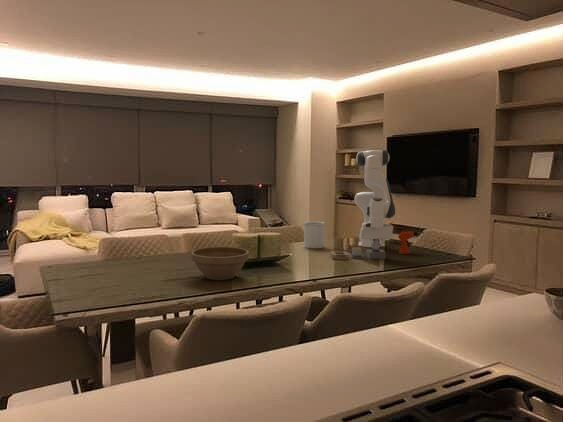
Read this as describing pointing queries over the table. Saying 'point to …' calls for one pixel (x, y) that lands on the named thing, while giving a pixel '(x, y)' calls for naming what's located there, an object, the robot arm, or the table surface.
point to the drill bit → (375, 245)
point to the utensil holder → (314, 234)
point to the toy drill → (406, 241)
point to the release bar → (356, 252)
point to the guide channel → (356, 257)
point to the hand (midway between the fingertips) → (376, 246)
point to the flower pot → (219, 261)
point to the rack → (339, 255)
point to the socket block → (376, 254)
